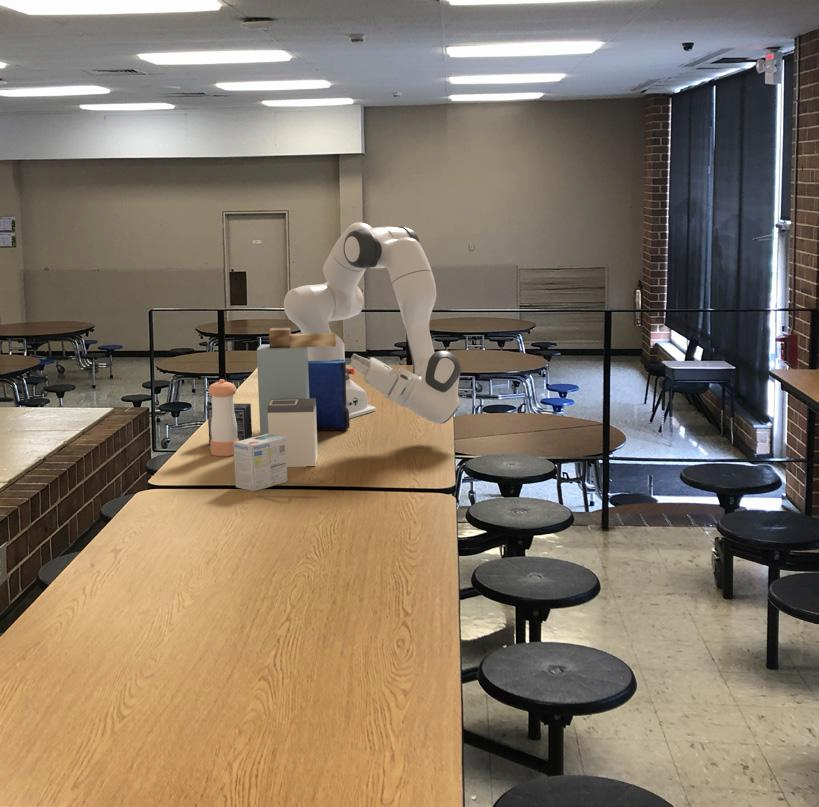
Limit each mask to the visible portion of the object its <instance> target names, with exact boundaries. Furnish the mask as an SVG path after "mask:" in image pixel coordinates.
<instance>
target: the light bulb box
mask: <svg viewBox="0 0 819 807" xmlns="http://www.w3.org/2000/svg"><path fill="white" fill-rule="evenodd" d="M233 445H234V455H233V459H234V460H233V461H234V475H235V476H234V477H235V488H237V489H238V488H239V489H242V490H246V491H251V492H256V491H260V490H264V489H267V488H270V487H273V486H278V485H281V484H284V483H287V482H288V467H287V459H286V437H283V436H277V435H271V434H264V435H260V434H259V435H258V436H252V438H249V439H245V440H241V441H236V442H233Z"/></svg>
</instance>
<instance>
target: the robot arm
mask: <svg viewBox="0 0 819 807" xmlns="http://www.w3.org/2000/svg"><path fill="white" fill-rule="evenodd" d="M322 269H323V276H324V278H325V280H326V282H324V283H320V284H307V285H301V286H298V287H295V288H292V289H290V290H289V291H288V292H286V293H285V294H286V295H285V297H284V299H283V310H284V313H285V315H286V317H287V318H288V319H289V320H290V321H291V322H293V323H294V325H296V326H297V327H298V328H299V330H300V332H301V334H320V333H333V332H332V330H331V329H330V325H329V324H330V323H329V322H333V321H334V322H335V321H343V320H348V319H350V318H353V317H355V316H358V315H359V314H360V313H361V312H362V310H363V307H364V305H365V304H364V302H365V301H364V295H363V292H362V290H361V289H360V287H359V283H360V281H361V280H362V277H363V276H364V274H365V272H366V270H367V269H387V271H388V273H389V277H390V281H391V285H392V288H393V292H394V295H395V298H396V301H397V303H398V307H399V310H400V314H401V319H402V322H403V326H404V331H405V336H406V339H407V340H406V341H407V344H408V350H409V353H410V356H411V357H410V358H411V362H412V371H409V370H408V369H406V368H404V367H402V366H401V367H400V368H399V369H396V368H392V367H391V366H389V365H387V364H386V363H384V362H383V361H382V360H379V359H377V358H375V357H372V356H371V357H369V359H368V358H366V357H363V356H360V355H358V354H357V353H352V355H351V357H350V360H351V361H350V363H349V366H350V367H348V368H347V367H346V408H347V409H348V410H349V418H350V419H353V418H355V417H358V416H361V415H365V414H369V413H372V412H375V411H376V407H375V406H374V405H371V404H368V403H369V402H368V395H367V392H366V391H365V390H364V389H363V388H362V387H361V386H359V385H358V384H357V383H355V381H353V380H352V379H351V377H350V375H352V376H354V375H356V373H357V372H358V373H360V374H361V375H362V376H364V378H363V380H364V381H365V382H366V383H367V384H368V385H370V386H371V387H372V388H374V389H376V390H377V391H379V392H380V393H382V394H384V398H386V399H388V400H389V401H391V402H393V403H394V404H396V405H398V406H401V407H403V408H407V409H409V410H410V411H412V412H413V413H414V414H415V415H417V416H418V417H421V418H422V419H425V420H427V421H429V422H430V423H431V422H432V423H434V424H438V425H442V424H445V423H447V422H448V421H450V420H451V418H452V417H454V415H455V414H456V412H458V409H459V407H460V399H459V382H460V375H461V371H462V366H461V363H460V360H459V359H458V357H457V356H456V355H455V354H453V353H452V352H450V351H448V350H447V351H446V350H439V351H436V352H435V348H434V345H433V341H432V336H431V333H430V320H431V316H432V313H433V309H434V306H435V304H436V302H437V301H436V300H437V287H436V281H435V277H434V274H433V271H432V268H431V264H430V262H429V260H428V258H427V255H426V253H425V251H424V249H423V247H422V245H421V243H420V240H419V236H418V234H417V233H416V232H415V230H413V229H411V228H409V227H405V226H377V227H372V226H371V225H369V224H367V223H364V222H353V223H352V224H350V225H349V226H348V227H347V228H346V229H345V230H344V231H343V233H342V234H341V235H340V237H338V239H337V240H336V242H335V244H334V245H333V247H332V249H331V251H330V253H329V255H328V256H327V258H326V260H325V262H324V264H323V266H322ZM342 359H344V360H346V359H345V343H344V340H342V338H341V337H340V336H338V335H337V334H336V346H334V347H308V361H331V360H342Z"/></svg>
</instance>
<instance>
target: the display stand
mask: <svg viewBox="0 0 819 807" xmlns="http://www.w3.org/2000/svg"><path fill="white" fill-rule="evenodd" d="M256 364H257V365H256V366H257V388H258V390H257V391H258V406H259V407H258V412H259V432H260V434H259V436H260V435H264V434H268V410H267V407H268V405H269V403H270V401H271V399H303V398H309V372H308V347H290V348H270V343H269V344H266V343H265V344H260V345H259V346H258V347H257V349H256Z"/></svg>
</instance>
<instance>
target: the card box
mask: <svg viewBox="0 0 819 807" xmlns="http://www.w3.org/2000/svg"><path fill="white" fill-rule="evenodd" d="M267 410H268V434H271V435H277V436H283V437H286V459H287V468H303V467H304V468H305V467H306V466H315V465H317V462H316V461H318V458H319V457H318V430H317V423H316V398H303V399H271V401H270V403H269V405H268V407H267ZM315 467H316V466H315ZM306 468H307V467H306Z"/></svg>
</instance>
